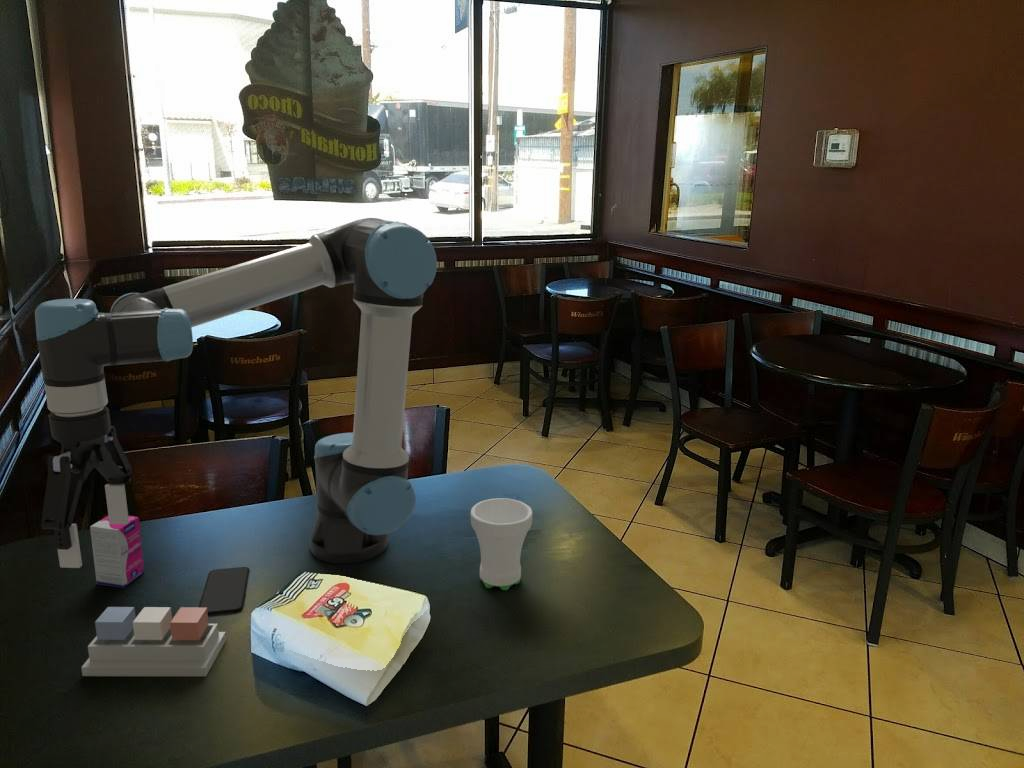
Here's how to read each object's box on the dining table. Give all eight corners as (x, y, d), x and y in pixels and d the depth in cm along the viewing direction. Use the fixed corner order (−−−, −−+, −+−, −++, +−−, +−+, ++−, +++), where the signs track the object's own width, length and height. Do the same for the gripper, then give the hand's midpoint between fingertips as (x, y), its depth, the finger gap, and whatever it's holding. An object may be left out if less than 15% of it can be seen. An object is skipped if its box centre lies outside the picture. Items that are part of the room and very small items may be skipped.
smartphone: (250, 565, 143) (242, 608, 129) (250, 570, 143) (242, 613, 129) (208, 569, 141) (196, 613, 127) (209, 574, 141) (196, 618, 127)
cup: (457, 580, 140) (457, 510, 136) (499, 559, 148) (500, 492, 144) (501, 604, 133) (503, 531, 129) (542, 581, 141) (545, 511, 137)
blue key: (136, 624, 117) (134, 607, 116) (124, 639, 113) (122, 622, 113) (110, 623, 117) (107, 606, 116) (97, 639, 113) (94, 622, 112)
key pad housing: (226, 639, 121) (224, 618, 120) (205, 676, 113) (203, 653, 112) (111, 639, 121) (108, 617, 120) (82, 676, 112) (78, 652, 111)
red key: (208, 624, 118) (207, 607, 117) (199, 640, 114) (197, 622, 113) (182, 624, 118) (180, 607, 117) (172, 639, 114) (170, 622, 113)
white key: (172, 624, 117) (170, 607, 117) (162, 639, 114) (159, 622, 113) (146, 624, 117) (144, 607, 116) (134, 639, 114) (132, 622, 113)
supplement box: (124, 588, 135) (117, 530, 132) (95, 584, 136) (87, 526, 133) (146, 572, 140) (139, 515, 137) (118, 568, 142) (110, 512, 138)
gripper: (98, 383, 120) (113, 506, 126) (-6, 438, 96) (19, 587, 102) (145, 385, 120) (159, 508, 126) (54, 439, 96) (75, 588, 102)
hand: (96, 543), depth 114 cm, fingers open, 13 cm apart
